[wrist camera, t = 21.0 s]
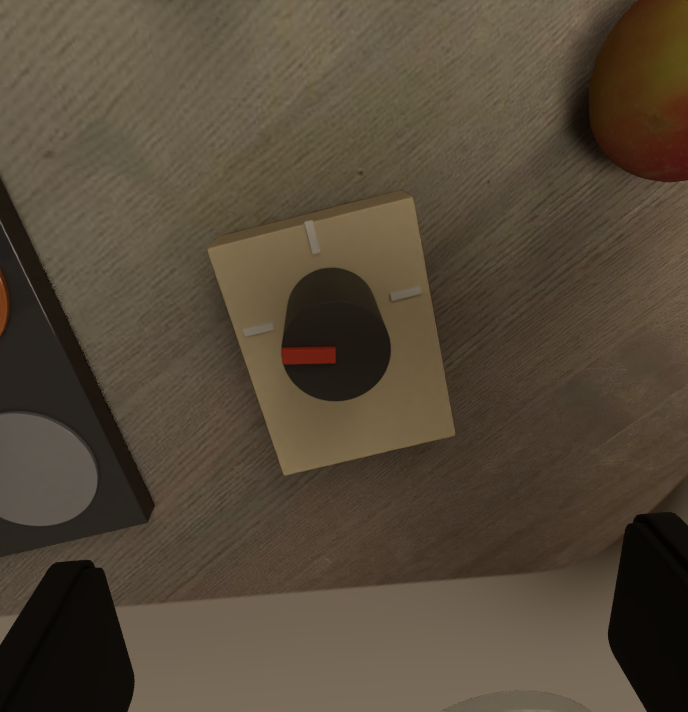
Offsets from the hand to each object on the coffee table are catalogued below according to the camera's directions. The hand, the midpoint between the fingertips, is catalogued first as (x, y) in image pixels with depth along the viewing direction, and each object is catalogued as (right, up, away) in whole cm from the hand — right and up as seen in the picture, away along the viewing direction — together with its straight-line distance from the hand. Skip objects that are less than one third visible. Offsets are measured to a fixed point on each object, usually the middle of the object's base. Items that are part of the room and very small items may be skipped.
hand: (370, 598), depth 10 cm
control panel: (-1, +6, +18) cm, 19 cm away
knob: (-1, +6, +14) cm, 16 cm away
